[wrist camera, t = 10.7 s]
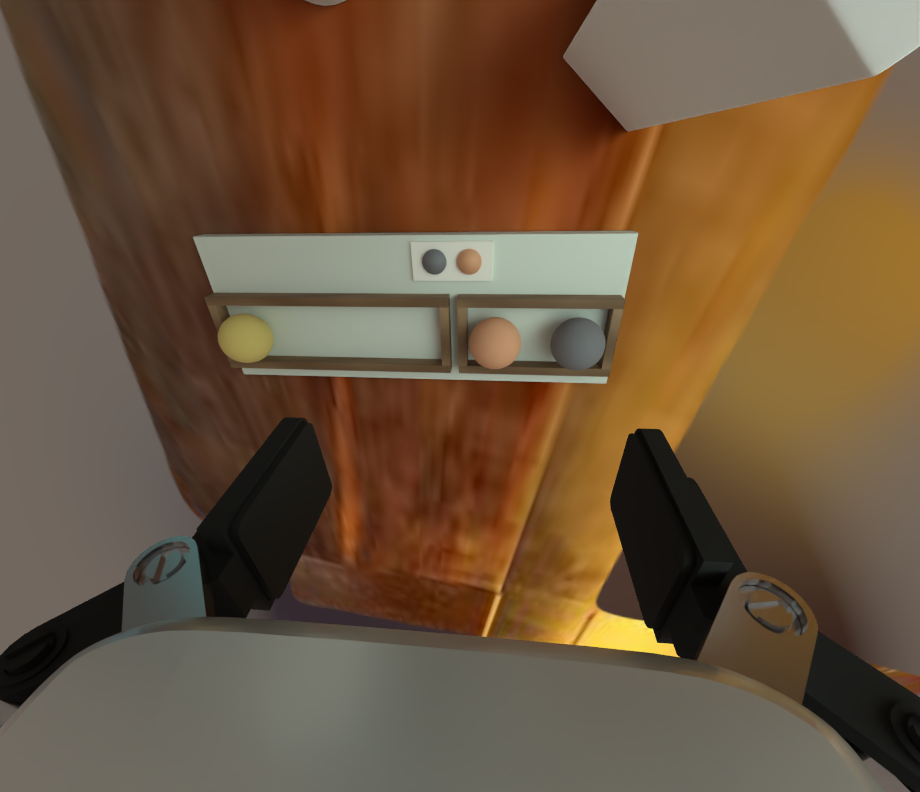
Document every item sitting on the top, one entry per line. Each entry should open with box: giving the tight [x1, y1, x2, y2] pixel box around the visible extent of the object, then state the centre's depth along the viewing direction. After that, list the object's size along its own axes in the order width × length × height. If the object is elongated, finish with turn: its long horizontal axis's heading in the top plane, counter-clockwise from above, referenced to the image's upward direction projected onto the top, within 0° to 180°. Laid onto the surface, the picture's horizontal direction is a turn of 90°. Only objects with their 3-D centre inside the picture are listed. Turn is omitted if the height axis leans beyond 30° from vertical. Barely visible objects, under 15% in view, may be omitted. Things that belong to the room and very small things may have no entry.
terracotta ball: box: [469, 317, 521, 369], centre depth 29 cm, size 4×4×4 cm
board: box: [193, 231, 638, 383], centre depth 31 cm, size 12×33×2 cm, turn 91°
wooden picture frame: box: [204, 293, 452, 373], centre depth 31 cm, size 6×20×1 cm, turn 91°
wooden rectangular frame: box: [457, 294, 625, 377], centre depth 30 cm, size 6×12×1 cm, turn 91°
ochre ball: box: [218, 314, 274, 363], centre depth 31 cm, size 4×4×4 cm
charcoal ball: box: [550, 317, 606, 371], centre depth 29 cm, size 4×4×4 cm
